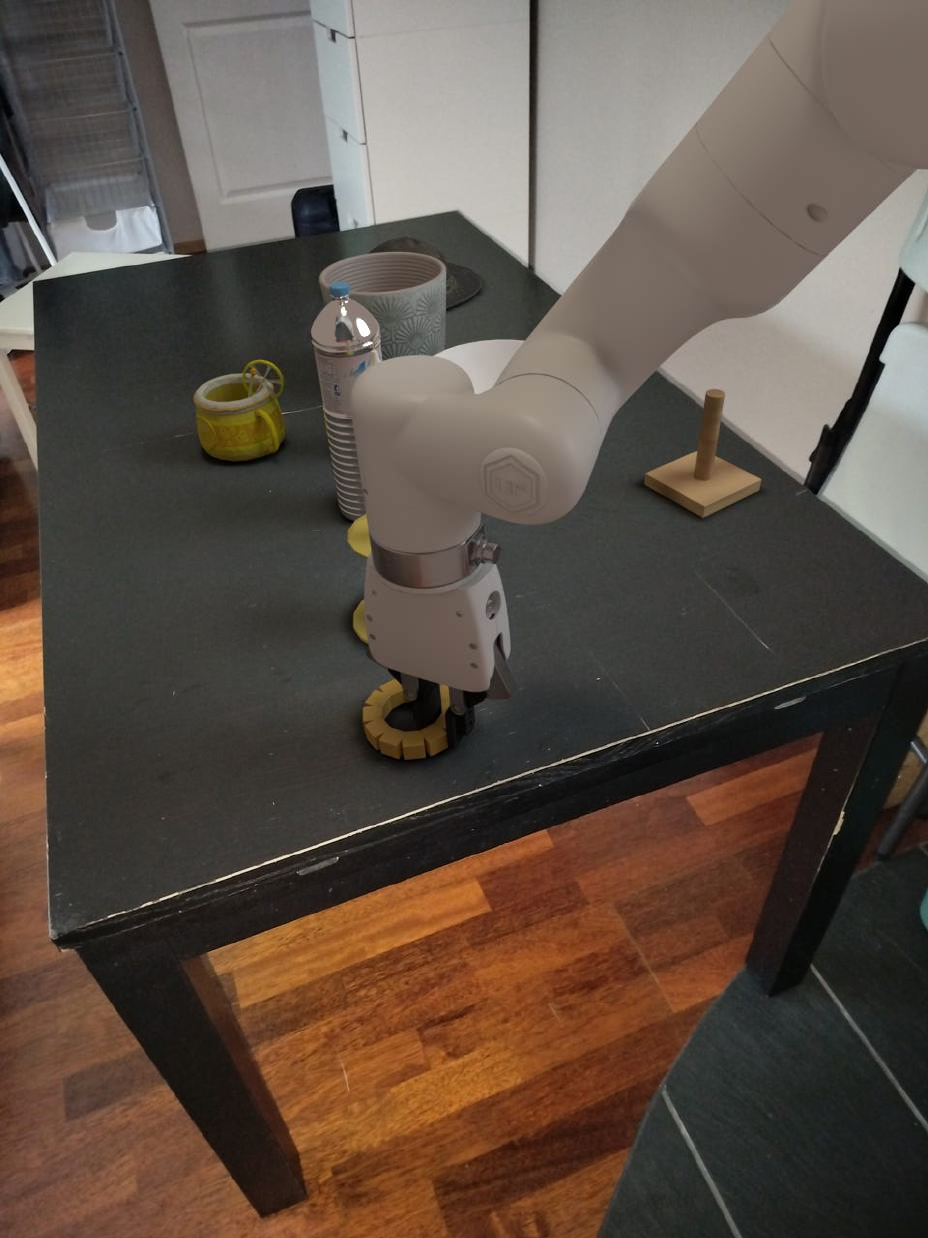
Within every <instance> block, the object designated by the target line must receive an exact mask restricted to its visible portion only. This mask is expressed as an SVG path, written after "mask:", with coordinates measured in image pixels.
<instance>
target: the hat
mask: <svg viewBox="0 0 928 1238" xmlns="http://www.w3.org/2000/svg"><path fill="white" fill-rule="evenodd" d="M380 252H410V253H418V254H424V255H428V256H431V257H434V258H436V259H438V260H440V261H441V262H442V263H443V264H444V265H445V267H446V310H448V309H451V308H452V307H455V306H458V305H459V304H462V303H465V302H466V301H468V300H469V299H471V298H472V297H474V296H475V295H476V294H477V293H478V292H480V291H481V290H482V287H483V285H482V279H481V277H480V276H479V275H478V274H477V273H476V272H475V271H474V270H473V269H472V268H469V267H466V266H463V265H459V264H456V263H452V262H447V260H446V257H445V256H444V255H443V253H442V252H441V250H439V249H438V248H437V247H436V246H434V245H433V244H430V243H428V242H426V241H424V240H421V239H419V238H414V237H410V236H400V237H397V238H391V239H388V240H386V241H384V242H382V243H380V244H378V245H377V246H375V247H374V248H373V249H371V250H370V251H369V252H368V253H367V254H371V253H380ZM451 275H452V276H453V277H454V278H455V280H456V283H455V280H454V278H452V277H451ZM454 283H455V285H454ZM453 285H454V287H453ZM452 287H453V288H452Z"/></svg>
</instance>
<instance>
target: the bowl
mask: <svg viewBox="0 0 928 1238" xmlns="http://www.w3.org/2000/svg"><path fill="white" fill-rule="evenodd" d="M524 341H525V340H522V339H521V340H520V339H488V340H487V339H486V340H479V341H471V342H467V343H462V344H459V345H455V346H453V347H449V348H447V349H444V351H442V352H440V353H438V354H436V355H434V356H435V357H440V358H444V359H447V360H450V361H452V362H453V363H455V364H457V365H459V366H460V367H461V368H463V370H464V371H465V372H466V373H467V374H468V376H469V378H470V380H471V382H472V384H473V388H474V393H475V394H480V393H483V392H485V391H487V390H489V389H491V388H492V387H493V385H494V384H495V382H496V381H497V379H498V377H499V376H500V374H501V373H502V371H503V370H504V368H505V367H506V366H507V364H508V363H509V361H510V360H511V358H512V357H513V356H514V354H515V353H516V352H517V350H518V349H519V348H520V346H521V345H522V344H523V343H524Z"/></svg>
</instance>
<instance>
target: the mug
mask: <svg viewBox="0 0 928 1238" xmlns="http://www.w3.org/2000/svg"><path fill="white" fill-rule="evenodd" d="M256 364H262V365H266V366H267V368H266V371H265V373H264V376H262V374H261V372H259V369H258V368H257V366H256ZM248 368H250V370H249V373H246V372H247V370H248ZM271 369H273V370H274V371H275V372H276V374H277V375H278V377H279V378H276V379H273V378H271V379H268V378H266V377H267V376H268V374H269V372H270V371H271ZM274 384H278V385H280V389H279V391H278V392H277V393H275V391H274V389H275V387H274ZM284 388H285V379H284V376H283V374H282V371H281V370H280V369H279V367H277V366H276V365H275V364H274V363H272V362H271V361H268V360H264V359H254V360H252V361H250V362H248V363H247V364H246V366H245V367H244V368H243V371H242V373H229V374H225V375H221V376H218V377H215V378H212V379H210V380H207V381H206V382H204V383H203V384H201V385H200V386H199V388H197V390H196V391H195V392H194V394H193V396H192V397H193V398H192V400H193V402H194V405H195V407H196V408H195V416H196V427H197V434H198V438H199V442H200V445H201V448H203V449H204V451H205V452H206V453H207V454H208V455H209V456H211V457H213V458H215V459H218V460H222V461H228V462H245V461H252V460H255V459H260V458H262V457H264V456H267V455H271V454H273V453H276V452H277V451H279V448H280V446H281V444H282V442H283V441H284V439H285V437H286V433H287V431H286V430H287V429H286V423H285V419H284V416H283V411H282V409H281V406H280V404H279V401H278V397H280V396H281V394H282V393H283V390H284Z"/></svg>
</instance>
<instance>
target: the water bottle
mask: <svg viewBox="0 0 928 1238" xmlns="http://www.w3.org/2000/svg"><path fill="white" fill-rule="evenodd" d="M329 289H330V292H331V295H330V296H331V297H332V299H333V300H332V301H331V302H329V303H328V304H327V305H326V306H323V308H322V309H321V310H320V311H319V313H318V314H317V316H316V317H315V319H314V321H313V323H312V325H311V328H310V339H311V346H312V348H313V350H314V356H315V362H316V363H315V364H316V370H317V376H318V381H319V387H320V388H319V389H320V393H321V395H320V396H321V400H322V413H323V419H324V427H325V430H326V431H325V433H326V437H327V444H328V451H329V456H330V457H329V458H330V460H331V461H330V462H331V468H332V473H333V481H334V487H335V491H336V492H335V493H336V498H337V503H338V507H339V510H340V513H341V514H342V516H343V517H345V518H346V519H348V520H349V521H352V522H354V521H355V520H357V519H359V518H360V517H362V516H363V515H365V514H366V509H365V502H364V496H363V489H362V483H361V476H360V469H359V463H358V456H357V449H356V442H355V436H354V429H353V422H352V415H351V405H350V397H351V391H352V387H353V385H354V383H355V381H356V379H357V378H358V376H359V375H360V374H361V373H362V372H364V371H365V370H366V369H368V367H369V363H370V358H371V351H372V350H373V346H372V343H373V344H374V350H376V351H377V353H378V356H379V359H380V361H382V353H381V345H380V341H381V333H380V326H379V323H378V322H377V320H376V319H375V318H374V316H373V315H372V314H371V313H370V312H369V311H368V310H367V309H366V308H365V307H363V306H362V305H361V304H359V303H358V302H356V301H354V300H352V299H350V298H349V295H350V292H349V290H350V289H349V284H348V283H346V282H335V283H332V284H331V285H330V286H329Z"/></svg>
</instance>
